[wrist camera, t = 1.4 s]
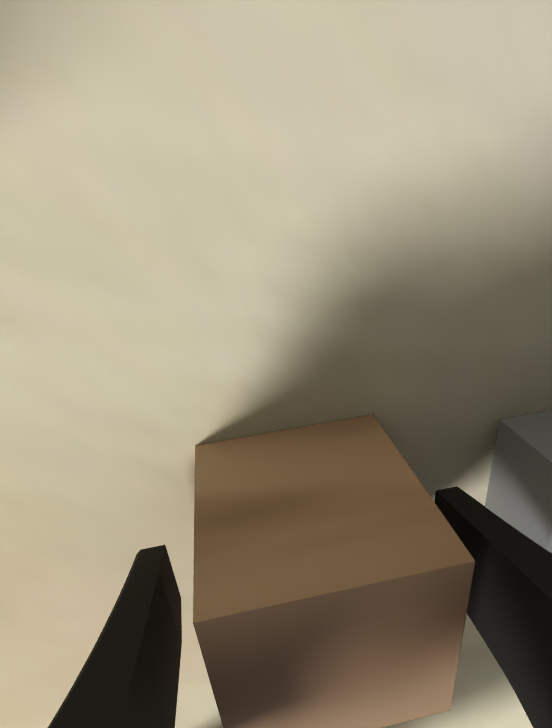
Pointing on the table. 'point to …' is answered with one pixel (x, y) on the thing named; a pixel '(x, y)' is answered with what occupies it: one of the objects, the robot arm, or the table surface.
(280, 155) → the table surface
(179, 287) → the table surface
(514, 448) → the charcoal base block
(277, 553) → the walnut cube
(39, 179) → the table surface
